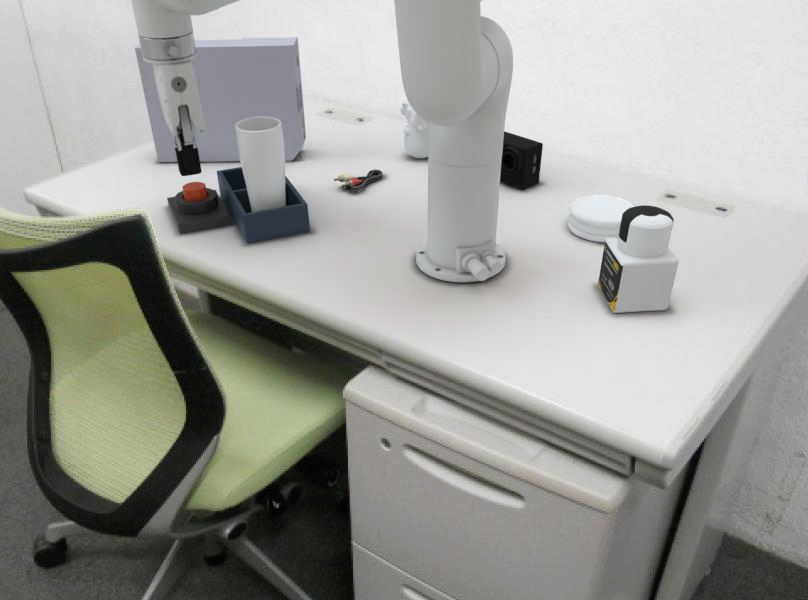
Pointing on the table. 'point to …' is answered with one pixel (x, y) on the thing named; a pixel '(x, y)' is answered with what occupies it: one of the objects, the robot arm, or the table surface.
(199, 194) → the button
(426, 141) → the figurine
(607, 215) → the round white container
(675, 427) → the table surface
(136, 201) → the table surface
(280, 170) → the drinking glass
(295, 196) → the divided tray
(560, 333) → the table surface
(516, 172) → the digital camera
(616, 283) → the medicine bottle
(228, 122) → the game console
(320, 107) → the table surface
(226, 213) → the control block
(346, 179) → the composite cable
